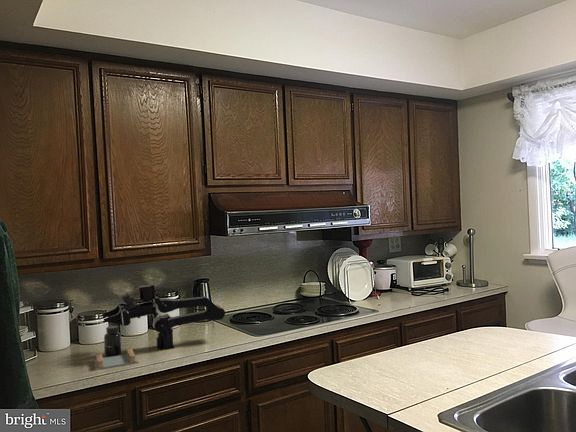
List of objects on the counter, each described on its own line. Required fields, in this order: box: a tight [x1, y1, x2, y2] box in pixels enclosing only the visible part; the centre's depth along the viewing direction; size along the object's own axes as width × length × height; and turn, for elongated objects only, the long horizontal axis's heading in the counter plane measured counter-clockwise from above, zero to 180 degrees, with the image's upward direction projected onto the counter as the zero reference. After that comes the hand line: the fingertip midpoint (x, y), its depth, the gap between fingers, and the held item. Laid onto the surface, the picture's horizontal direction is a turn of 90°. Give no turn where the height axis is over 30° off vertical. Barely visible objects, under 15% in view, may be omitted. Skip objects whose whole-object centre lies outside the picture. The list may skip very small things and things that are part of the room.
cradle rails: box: [95, 347, 136, 368], centre depth 192 cm, size 14×13×2 cm
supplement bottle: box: [103, 325, 122, 358], centre depth 202 cm, size 7×7×12 cm
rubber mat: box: [93, 353, 139, 371], centre depth 192 cm, size 16×13×1 cm
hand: (103, 317), depth 201 cm, fingers open, 9 cm apart
